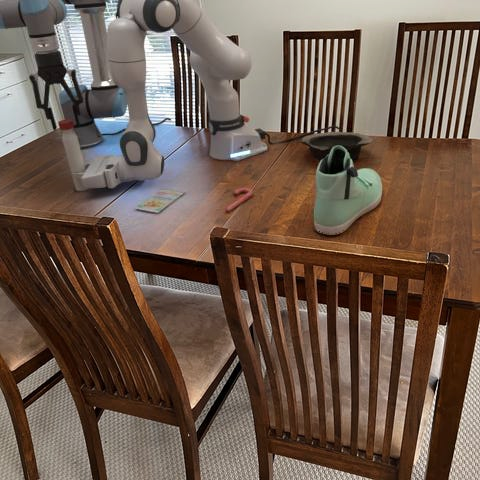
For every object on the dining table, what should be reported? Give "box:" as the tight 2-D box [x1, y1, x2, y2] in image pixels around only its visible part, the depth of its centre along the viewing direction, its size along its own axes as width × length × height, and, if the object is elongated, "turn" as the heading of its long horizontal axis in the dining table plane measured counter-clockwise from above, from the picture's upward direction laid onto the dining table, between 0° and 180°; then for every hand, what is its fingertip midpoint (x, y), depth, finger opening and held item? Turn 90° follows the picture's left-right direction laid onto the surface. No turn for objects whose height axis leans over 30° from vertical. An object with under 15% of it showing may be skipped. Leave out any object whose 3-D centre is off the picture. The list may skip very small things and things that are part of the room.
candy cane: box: [224, 187, 254, 213], centre depth 147 cm, size 6×15×2 cm, turn 145°
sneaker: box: [313, 146, 383, 236], centre depth 133 cm, size 14×35×20 cm, turn 152°
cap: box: [57, 119, 74, 131], centre depth 153 cm, size 4×4×2 cm
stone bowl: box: [300, 131, 374, 164], centre depth 169 cm, size 25×25×9 cm
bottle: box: [61, 128, 90, 192], centre depth 159 cm, size 5×5×23 cm
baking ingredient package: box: [134, 188, 184, 214], centre depth 151 cm, size 9×1×15 cm
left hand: (66, 127), depth 154 cm, fingers open, 7 cm apart
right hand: (75, 171), depth 162 cm, fingers closed on bottle, 5 cm apart
